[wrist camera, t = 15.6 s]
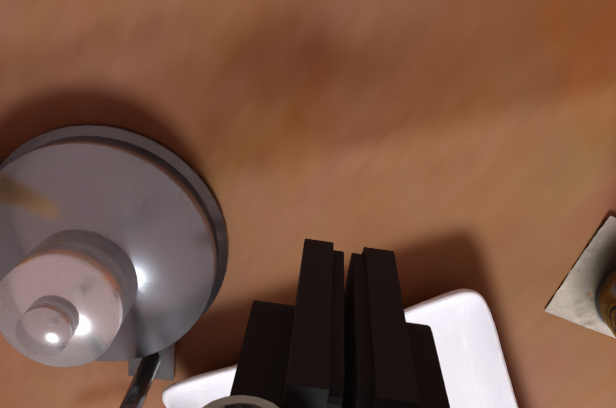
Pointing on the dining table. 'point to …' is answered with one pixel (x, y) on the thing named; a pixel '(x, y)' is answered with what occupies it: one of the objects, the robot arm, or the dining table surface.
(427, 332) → the robot arm
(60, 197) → the turntable
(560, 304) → the condiment
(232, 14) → the dining table surface
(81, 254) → the cover
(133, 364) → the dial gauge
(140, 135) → the turntable base
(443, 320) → the salad plate
